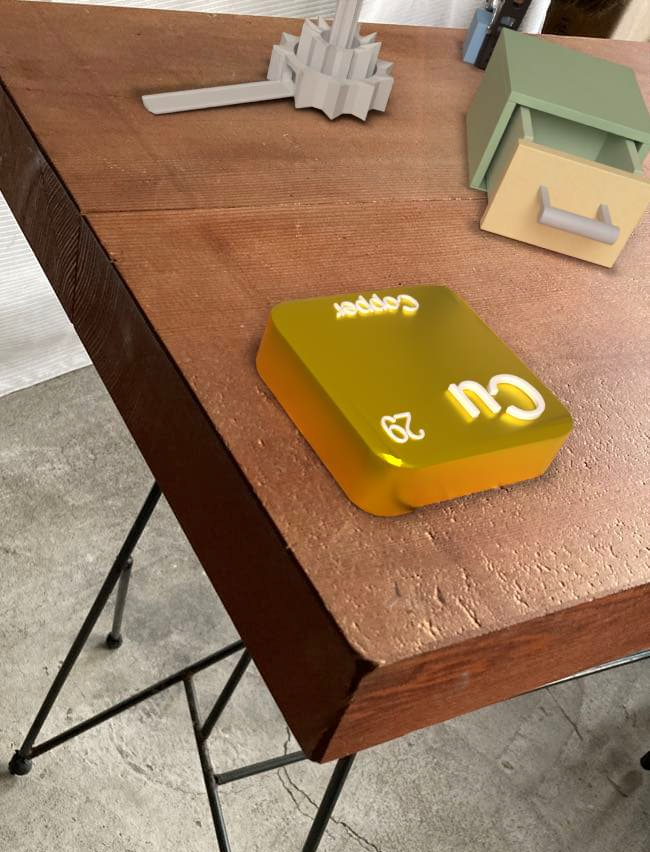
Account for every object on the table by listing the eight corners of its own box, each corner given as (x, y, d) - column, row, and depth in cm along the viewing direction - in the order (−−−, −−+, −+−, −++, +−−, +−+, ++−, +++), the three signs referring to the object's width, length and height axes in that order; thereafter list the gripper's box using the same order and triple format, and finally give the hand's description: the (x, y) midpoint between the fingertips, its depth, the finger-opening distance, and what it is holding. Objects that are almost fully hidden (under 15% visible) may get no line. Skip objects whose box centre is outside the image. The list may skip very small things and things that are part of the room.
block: (499, 63, 109) (517, 20, 106) (501, 79, 106) (519, 35, 102) (460, 51, 108) (476, 7, 105) (460, 66, 105) (478, 22, 102)
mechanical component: (132, 111, 83) (153, -88, 72) (320, 59, 97) (362, -114, 86) (225, 176, 79) (263, -24, 68) (407, 111, 93) (463, -63, 82)
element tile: (424, 330, 69) (450, 272, 66) (556, 478, 62) (593, 421, 58) (242, 356, 62) (260, 293, 59) (365, 527, 55) (395, 466, 51)
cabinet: (601, 234, 86) (657, 136, 80) (466, 193, 85) (511, 90, 79) (584, 160, 96) (632, 68, 90) (463, 123, 95) (503, 26, 89)
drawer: (618, 301, 77) (669, 218, 72) (481, 260, 76) (523, 173, 71) (592, 191, 90) (634, 114, 85) (475, 155, 89) (510, 75, 84)
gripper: (598, -83, 90) (517, 99, 102) (582, -122, 100) (510, 48, 112) (521, -108, 89) (449, 77, 102) (513, -145, 99) (448, 29, 112)
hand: (481, 61), depth 107 cm, fingers closed on block, 4 cm apart
